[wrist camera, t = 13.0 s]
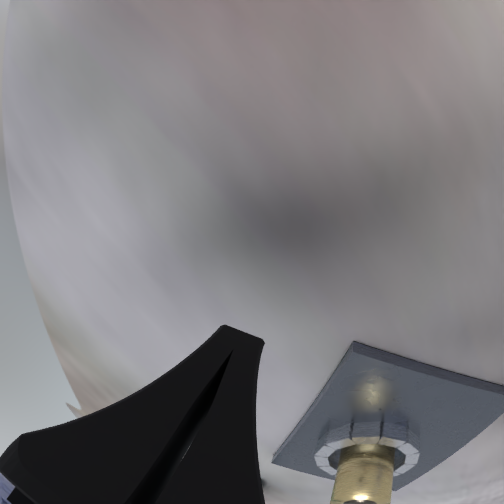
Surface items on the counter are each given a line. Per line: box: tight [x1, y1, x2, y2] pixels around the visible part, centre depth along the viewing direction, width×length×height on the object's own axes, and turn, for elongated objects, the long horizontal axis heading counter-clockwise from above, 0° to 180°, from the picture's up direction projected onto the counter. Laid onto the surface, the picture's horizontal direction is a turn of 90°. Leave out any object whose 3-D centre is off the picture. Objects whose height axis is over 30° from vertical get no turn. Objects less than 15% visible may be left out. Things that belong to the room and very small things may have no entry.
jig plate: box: [271, 341, 504, 491], centre depth 23 cm, size 16×20×2 cm
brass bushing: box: [330, 444, 395, 504], centre depth 21 cm, size 5×5×6 cm
